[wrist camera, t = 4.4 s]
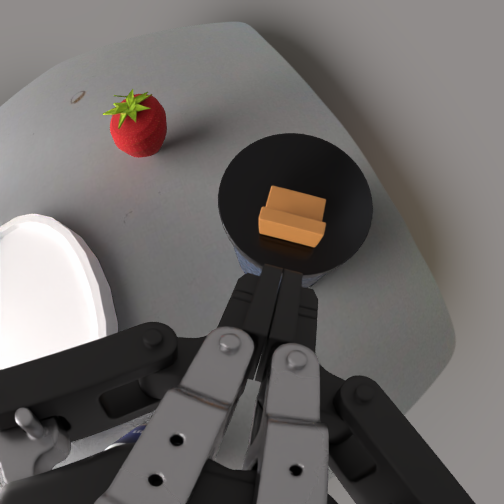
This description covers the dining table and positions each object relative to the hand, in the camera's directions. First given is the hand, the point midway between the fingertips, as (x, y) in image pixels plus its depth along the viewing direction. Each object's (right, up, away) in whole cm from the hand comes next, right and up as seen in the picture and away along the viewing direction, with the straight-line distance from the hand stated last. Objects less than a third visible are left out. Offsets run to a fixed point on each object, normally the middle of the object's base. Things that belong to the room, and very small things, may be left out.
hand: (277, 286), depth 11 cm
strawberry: (-12, +13, +20) cm, 26 cm away
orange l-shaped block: (+1, +3, +5) cm, 6 cm away
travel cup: (+2, +2, +16) cm, 16 cm away
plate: (-28, -8, +15) cm, 33 cm away
